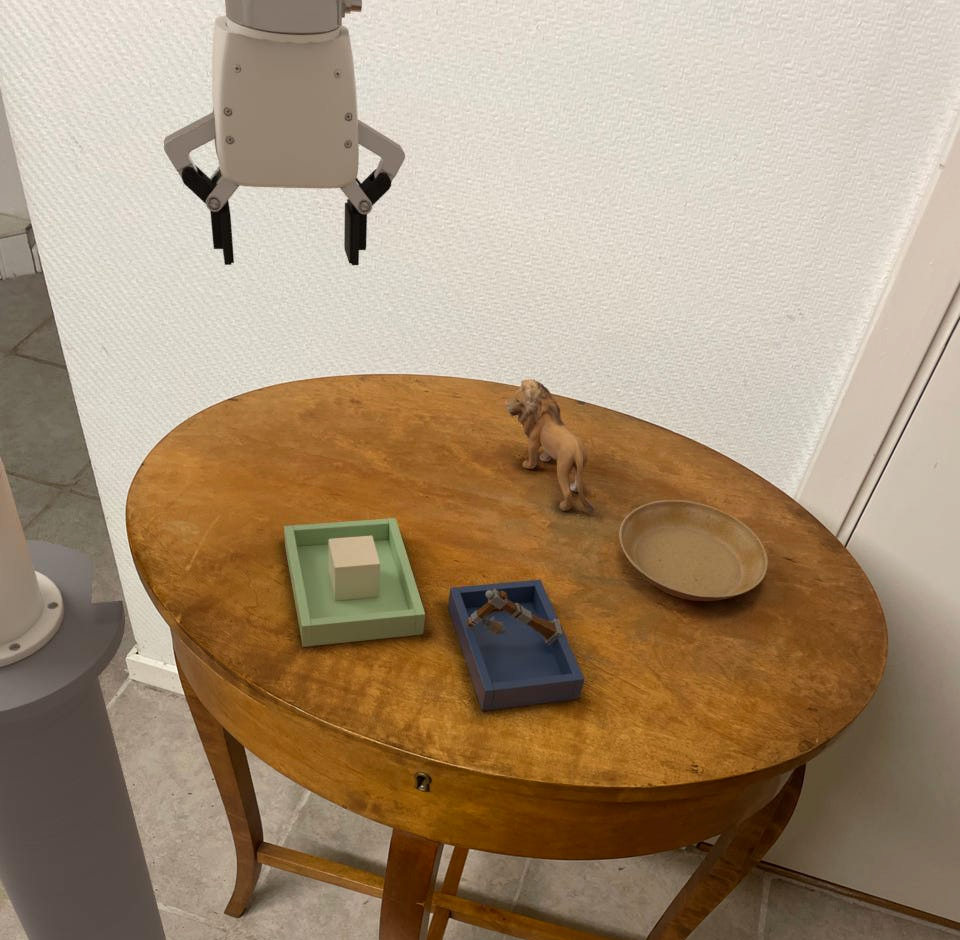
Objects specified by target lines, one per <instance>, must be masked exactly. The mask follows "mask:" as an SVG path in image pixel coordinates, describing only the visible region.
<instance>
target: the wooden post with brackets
mask: <svg viewBox="0 0 960 940" xmlns="http://www.w3.org/2000/svg"><path fill="white" fill-rule="evenodd" d="M485 596H486V597H487V598H488V602H487V603H486V604H485V605H484V606H483V607H482V608H480V609H479V610H478V611H477V610H476V611H475V612H474V613H473V614H472V615H471V617H469V619H468V620H466V623H467V626H469V627H470V628H472V627H473V626H475V625H476V623H477V624H478V623H479V622H480V621H481V622H482V623H483V624H484V626H485V625H486V630H487V632H489V631H491V632H493V633H494V634H496V636H497V635H498V634H503V633H505V628H504V627H503V623H502V622H498V621H496V620H494V616H493V617H492V618H491V619H490V620H489V619H488V618H486V619H483V617H485V616H486V615H488V614H493V613H498V612H502V611H506V612H508V613H509V614H510V617H512V618H514V617H515V620H517V621H519V622H521V623H522V624H524V625H526V624H527V625H528V626H530V627H532V628H533V629H534V630H536V631H537V632H538V633H540V634H541V635H542V636H543V637H544V640H545V644H547V645H548V646H549V645H550V644H551V643H552V642H553V641H554V640H556V637H557V636H560V635H561V634H562V631H561V627H562V626H561V627H560V625H561V623H559V622H560V619H558V620H557V619H554V620H553V621H552V622H551V621H547V620H544V619H542V618H539V617H536V616H534V615H532V614H531V612H530V611H528V610H526V609H525V608H523V607H522V606H520V607H519V604H517V603H515V604H514V603H513V602H511V601H510V600H508V599H506V598H507V594H506V592H504V591H501V592H499V591H497V590H496V589H494V590H493V591H491V590H488V591H487V592H486V593H485ZM495 607H497V608H495ZM494 608H495V609H494ZM482 620H483V621H482Z"/></svg>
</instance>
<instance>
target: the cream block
mask: <svg viewBox="0 0 960 940" xmlns="http://www.w3.org/2000/svg"><path fill="white" fill-rule="evenodd" d="M328 546H329V576H330V581H331V585H332V590H333V594H334V599H335V601H340V600H351V599H362V598H373V597H379V582H380V561H379V557H378V554H377V550H376V546H375V543H374V539H373V536H360V537H346V538H333V539H329V540H328Z"/></svg>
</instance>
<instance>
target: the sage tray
mask: <svg viewBox="0 0 960 940" xmlns="http://www.w3.org/2000/svg"><path fill="white" fill-rule="evenodd" d="M283 530H284V531H283V532H284V549H285V552H286V560H287V564H288V565H287V566H288V571H289V577H290V583H291V587H292V594H293V599H294V607H295V610H296V618H297V622H298V628H299V633H300V640H301V645H302V648H305V647H314V646H315V647H316V646H324V645H333V644H345V643H353V642H364V641H373V640H383V639H391V638H401V637H410V636H411V637H412V636H421V635H422V636H423V635H424V632H425V621H426V612H425V609H424V605H423V602H422V599H421V596H420V592H419V589H418V586H417V582H416V579H415V576H414V573H413V570H412V567H411V563H410V560H409V557H408V553H407V549H406V547H405V544H404V541H403V538H402V537H403V536H402V534H401V531H400V527H399V524H398V521H397V518H396V517H388V518H378V519H361V520H350V521H349V520H348V521H336V522H321V523H307V524H294V525H293V524H291V525H284V526H283ZM360 536H373V539H374V543H375V546H376V550H377V554H378V557H379V561H380V582H379V597H373V598H362V599H351V600H340V601H335V599H334V594H333V590H332V585H331V581H330V576H329V546H328V540H329V539H333V538H346V537H360Z"/></svg>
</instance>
